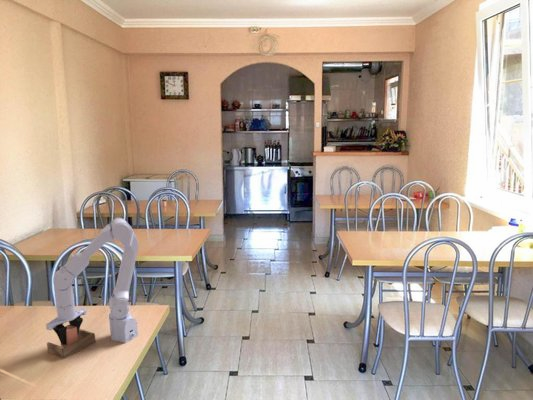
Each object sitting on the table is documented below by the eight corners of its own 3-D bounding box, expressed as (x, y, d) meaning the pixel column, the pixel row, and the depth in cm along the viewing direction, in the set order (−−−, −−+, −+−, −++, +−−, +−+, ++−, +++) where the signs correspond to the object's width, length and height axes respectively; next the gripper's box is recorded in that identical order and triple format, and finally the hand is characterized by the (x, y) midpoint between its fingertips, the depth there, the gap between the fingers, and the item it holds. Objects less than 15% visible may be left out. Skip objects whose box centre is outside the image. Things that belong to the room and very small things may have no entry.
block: (78, 342, 159) (76, 326, 158) (68, 347, 155) (66, 331, 154) (71, 340, 161) (69, 324, 160) (61, 345, 157) (59, 329, 156)
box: (95, 343, 161) (94, 333, 160) (64, 360, 150) (63, 349, 150) (79, 338, 165) (78, 328, 165) (48, 354, 155) (46, 343, 154)
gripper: (75, 295, 164) (79, 330, 166) (38, 309, 151) (43, 347, 154) (88, 298, 160) (92, 334, 163) (52, 313, 148) (56, 352, 150)
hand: (69, 340), depth 158 cm, fingers closed on block, 4 cm apart
